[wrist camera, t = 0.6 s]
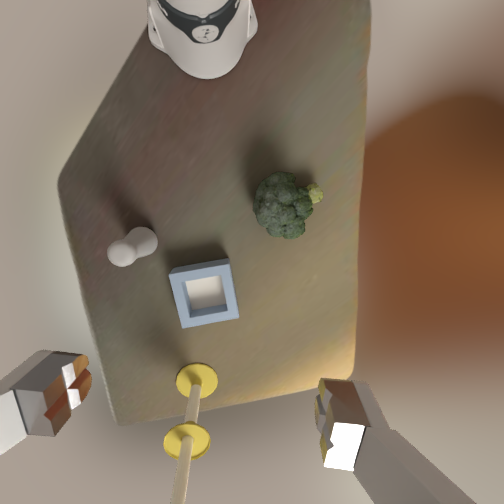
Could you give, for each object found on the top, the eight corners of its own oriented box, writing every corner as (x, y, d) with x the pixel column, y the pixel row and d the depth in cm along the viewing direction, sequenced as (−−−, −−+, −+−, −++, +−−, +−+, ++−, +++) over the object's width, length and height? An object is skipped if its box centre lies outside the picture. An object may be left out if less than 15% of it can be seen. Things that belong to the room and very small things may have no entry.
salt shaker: (144, 219, 50) (116, 228, 38) (166, 238, 51) (146, 253, 39) (125, 239, 51) (91, 255, 38) (147, 258, 52) (122, 279, 39)
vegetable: (328, 233, 52) (272, 260, 46) (289, 199, 59) (235, 219, 52) (351, 183, 43) (286, 208, 36) (302, 150, 49) (239, 166, 43)
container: (173, 267, 53) (168, 274, 49) (229, 258, 54) (229, 263, 49) (185, 317, 56) (182, 328, 52) (238, 307, 57) (239, 317, 52)
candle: (175, 363, 59) (114, 563, 27) (217, 362, 60) (206, 553, 28) (176, 399, 61) (122, 620, 29) (218, 396, 62) (207, 609, 30)
